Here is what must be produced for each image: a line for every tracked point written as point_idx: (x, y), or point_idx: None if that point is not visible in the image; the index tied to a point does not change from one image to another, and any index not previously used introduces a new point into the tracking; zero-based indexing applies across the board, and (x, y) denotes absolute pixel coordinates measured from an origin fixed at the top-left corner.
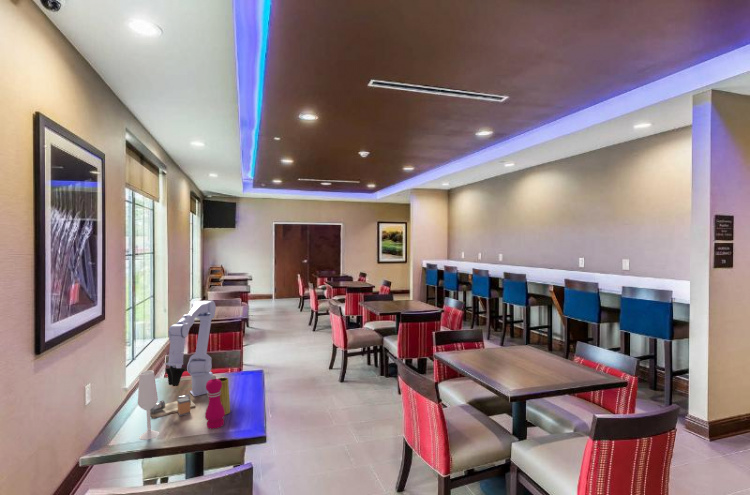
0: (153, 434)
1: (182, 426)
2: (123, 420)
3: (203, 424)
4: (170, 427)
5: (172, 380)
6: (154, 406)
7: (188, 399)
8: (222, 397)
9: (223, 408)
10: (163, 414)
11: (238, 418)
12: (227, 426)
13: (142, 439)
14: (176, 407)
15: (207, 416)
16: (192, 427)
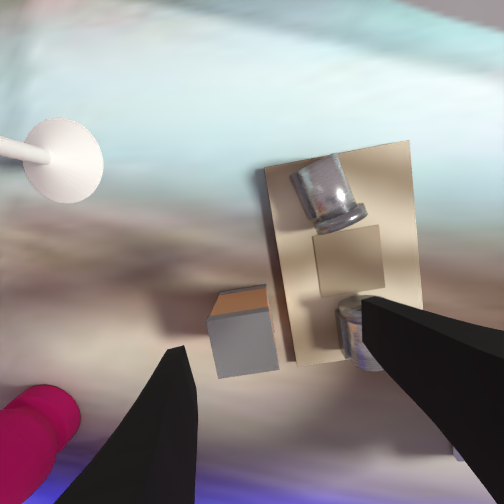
0: (35, 178)
1: (97, 297)
2: (321, 21)
3: (79, 374)
4: (110, 249)
5: (141, 394)
6: (306, 174)
7: (228, 372)
8: None
9: None
10: (273, 222)
11: None
12: None
13: (29, 133)
14: (321, 284)
15: None
16: (68, 333)
